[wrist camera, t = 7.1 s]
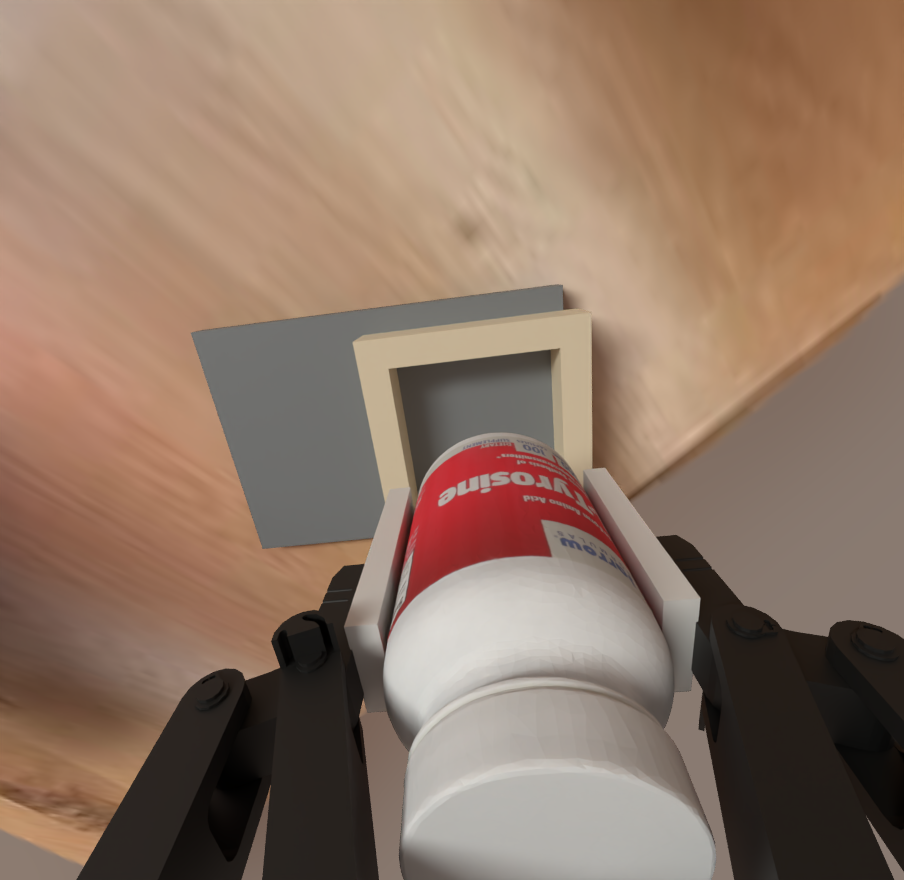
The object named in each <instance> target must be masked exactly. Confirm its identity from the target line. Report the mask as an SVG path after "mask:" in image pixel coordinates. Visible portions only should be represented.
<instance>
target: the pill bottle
mask: <svg viewBox="0 0 904 880" xmlns="http://www.w3.org/2000/svg"><path fill="white" fill-rule="evenodd" d="M383 691H384V699H385V704H386V709H387V713H388V716H389V718H390V721H391V723H392V725H393V728H394V730H395V731H396V733H397V735H398V737H399V739H400V740H401V742H402V743H403V745H404V746H405V747H406V749H407V750H408V751H409V756H408V765H407V769H406V773H405V780H404V797H403V809H402V824H401V836H400V847H399V861H400V868H401V872H402V876H403V879H404V880H711V879H712V876H713V873H714V870H715V864H716V851H715V841H714V838H713V835H712V831H711V829H710V826H709V824H708V821H707V819H706V816H705V814H704V811H703V809H702V806H701V804H700V801H699V799H698V796H697V794H696V792H695V789H694V787H693V784H692V781H691V779H690V776H689V774H688V771H687V769H686V766H685V763H684V761H683V759H682V756H681V754H680V751H679V750H678V748H677V746H676V745H675V743H674V741H673V740H672V739H671V738H670V736H669V735H668V734H667V733H666V732H665V731H664V728H665V726H666V724H667V721H668V718H669V715H670V712H671V708H672V703H673V697H674V668H673V663H672V659H671V655H670V651H669V647H668V645H667V642H666V640H665V637H664V635H663V633H662V631H661V629H660V627H659V625H658V623H657V621H656V619H655V616H654V614H653V612H652V610H651V609H650V607H649V605H648V603H647V602H646V600H645V598H644V596H643V595H642V593H641V591H640V589H639V587H638V586H637V584H636V582H635V580H634V579H633V577H632V575H631V573H630V571H629V569H628V567H627V566H626V564H625V562H624V561H623V559H622V557H621V555H620V553H619V552H618V550H617V548H616V546H615V545H614V543H613V541H612V539H611V537H610V536H609V534H608V532H607V530H606V528H605V527H604V525H603V523H602V521H601V519H600V518H599V516H598V514H597V512H596V510H595V509H594V507H593V505H592V503H591V501H590V500H589V498H588V496H587V494H586V492H585V491H584V489H583V487H582V485H581V484H580V482H579V480H578V478H577V477H576V475H575V473H574V472H573V470H572V469H571V467H570V466H569V464H568V463H567V462H566V461H565V460H564V458H563V457H562V456H560V455H559V454H558V453H557V452H556V451H555V450H553V449H552V448H551V447H549V446H548V445H546V444H544V443H542V442H540V441H538V440H536V439H534V438H531V437H527V436H523V435H519V434H514V433H502V432H501V433H487V434H482V435H477V436H474V437H471V438H468V439H465V440H463V441H461V442H459V443H457V444H455V445H454V446H452V447H451V448H449V449H448V450H447V451H445V452H444V453H443V454H442V455H441V456H440V457H439V458H438V459H437V460H436V461H435V462H434V463H433V464H432V466H431V467H430V469H429V470H428V472H427V473H426V475H425V477H424V479H423V482H422V484H421V487H420V490H419V494H418V498H417V502H416V506H415V510H414V515H413V520H412V525H411V529H410V535H409V539H408V544H407V549H406V554H405V559H404V563H403V568H402V573H401V578H400V582H399V587H398V593H397V598H396V603H395V608H394V612H393V618H392V623H391V626H390V632H389V635H388V641H387V647H386V654H385V661H384V668H383Z"/></svg>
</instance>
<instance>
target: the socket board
mask: <svg viewBox="0 0 904 880" xmlns="http://www.w3.org/2000/svg"><path fill="white" fill-rule="evenodd" d="M191 335H192V338H193V341H194V344H195V347H196V350H197V353H198V356H199V359H200V362H201V365H202V368H203V371H204V374H205V377H206V380H207V383H208V386H209V389H210V392H211V395H212V398H213V401H214V404H215V407H216V410H217V413H218V416H219V419H220V422H221V425H222V428H223V431H224V434H225V437H226V440H227V443H228V446H229V449H230V452H231V455H232V458H233V461H234V464H235V467H236V470H237V473H238V476H239V479H240V482H241V485H242V488H243V491H244V494H245V497H246V500H247V503H248V506H249V509H250V512H251V515H252V518H253V521H254V524H255V527H256V530H257V533H258V536H259V539H260V542H261V545H262V548H263V549H266V548H276V547H287V546H297V545H307V544H317V543H327V542H337V541H347V540H357V539H367V538H374V535H375V532H376V529H377V526H378V523H379V520H380V517H381V514H382V511H383V508H384V505H385V502H386V499H387V496H388V493H389V490H390V489H396V488H406V487H410V488H411V494H412V500H413V505H414V510H415V506H416V502H417V498H418V494H419V490H420V487H421V484H422V482H423V479H424V477H425V475H426V473H427V472H428V470H429V469H430V467H431V466H432V464H433V463H434V462H435V461H436V460H437V459H438V458H439V457H440V456H441V455H442V454H443V453H444V452H445V451H447V450H448V449H449V448H451V447H452V446H454V445H455V444H457V443H459V442H461V441H463V440H465V439H468V438H471V437H474V436H477V435H482V434H487V433H501V432H502V433H514V434H519V435H523V436H527V437H531V438H534V439H536V440H538V441H540V442H542V443H544V444H546V445H548V446H549V447H551V448H552V449H553V450H555V451H556V452H557V453H558V454H559V455H560V456H562V457H563V458H564V460H565V461H566V462H567V463H568V464H569V466H570V467H571V469H572V470H573V472H574V473H575V475H576V477H577V478H578V480H579V482H580V484H581V485H582V487H583V470H586V469H592V326H591V312H588V311H585V310H582V309H578V308H576V309H568V310H563V285H550V286H542V287H534V288H527V289H519V290H511V291H503V292H495V293H488V294H480V295H472V296H464V297H457V298H449V299H441V300H433V301H425V302H418V303H410V304H402V305H394V306H386V307H379V308H371V309H363V310H355V311H348V312H340V313H332V314H324V315H316V316H309V317H301V318H293V319H285V320H277V321H270V322H262V323H254V324H246V325H238V326H231V327H223V328H215V329H207V330H201V331H197V332H192V333H191Z"/></svg>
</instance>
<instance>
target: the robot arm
mask: <svg viewBox="0 0 904 880" xmlns="http://www.w3.org/2000/svg"><path fill="white" fill-rule="evenodd" d="M583 489H584V491H585V492H586V494H587V496H588V498H589V500H590V501H591V503H592V505H593V507H594V509H595V510H596V512H597V514H598V516H599V518H600V519H601V521H602V523H603V525H604V527H605V528H606V530H607V532H608V534H609V536H610V537H611V539H612V541H613V543H614V545H615V546H616V548H617V550H618V552H619V553H620V555H621V557H622V559H623V561H624V562H625V564H626V566H627V567H628V569H629V571H630V573H631V575H632V577H633V579H634V580H635V582H636V584H637V586H638V587H639V589H640V591H641V593H642V595H643V596H644V598H645V600H646V602H647V603H648V605H649V607H650V609H651V610H652V612H653V614H654V616H655V619H656V621H657V623H658V625H659V627H660V629H661V631H662V633H663V635H664V637H665V640H666V642H667V645H668V647H669V651H670V655H671V659H672V663H673V668H674V692H684V691H691V684H692V674H694V675H695V677H696V679H697V681H698V682H699V684H700V686H701V688H702V690H703V693H702V701H701V710H700V718H699V730H703V731H704V728H706V733H707V738H708V743H709V749H710V753H711V759H712V765H713V770H714V775H715V780H716V786H717V791H718V796H719V801H720V807H721V812H722V817H723V823H724V828H725V833H726V839H727V843H728V849H729V854H730V860H731V865H732V870H733V875H734V880H894V878H893V876H892V873H891V871H890V869H889V867H888V865H887V862H886V860H885V858H884V855H883V853H882V851H881V849H880V846H879V844H878V842H877V840H876V837H875V835H874V834H873V831H872V829H871V826H870V824H869V822H868V819H869V821H870V822H871V824H872V825H873V827H874V828H875V829H876V831H877V833H878V834H879V835H880V837H881V838H882V840H883V841H884V843H885V844H886V846H887V847H888V849H889V850H890V852H891V853H892V855H893V856H894V858H895V859H896V861H897V862H898V864H899V865H900V867H901V868H902V870H903V871H904V639H903V638H901V637H900V636H899V635H896V634H895V633H893V632H891V631H889V630H886V629H884V628H882V627H880V626H876V625H873V624H870V623H866V622H861V621H851V620H847V621H842V622H837V623H836V624H834V625H833V626H832V627H831V628H830V632H829V636H828V637H825V636H819V635H812V634H806V633H799V632H794V631H789V630H785V629H782V628H781V627H780V625H779V624H778V623H777V622H776V621H775V620H774V619H772V618H771V617H770V616H768V615H767V614H766V613H763V612H761V611H759V610H757V609H755V608H752V607H747V606H744V605H743V604H742V603H741V601H740V600H739V599H738V598H737V597H736V595H735V594H734V593H733V592H732V591H731V590H730V588H729V587H728V586H727V585H726V584H725V582H724V581H723V580H722V579H721V578H720V577H719V575H718V574H717V573H716V572H715V571H714V570H712V569H711V566H710V565H709V564H708V562H707V561H706V560H705V559H703V557H702V555H701V554H700V553H699V552H698V551H697V550H696V548H695V547H694V546H693V545H692V544H690V543H689V542H687V541H686V540H684V539H682V538H680V537H679V536H677V535H671V536H660V537H655V535H654V534H653V533H652V531H651V530H650V528H649V527H648V526H647V525H646V523H645V522H644V520H643V519H642V518H641V516H640V515H639V513H638V512H637V511H636V509H635V508H634V507H633V505H632V504H631V503H630V501H629V500H628V498H627V497H626V496H625V494H624V493H623V492H622V490H621V489H620V488H619V486H618V485H617V483H616V482H615V481H614V479H613V478H612V477H611V475H610V474H609V472H608V471H607V470H606V468H596V469H586V470H583ZM413 515H414V505H413V500H412V494H411V488H410V487H406V488H396V489H390V490H389V493H388V496H387V499H386V502H385V505H384V508H383V511H382V514H381V517H380V520H379V523H378V526H377V529H376V532H375V535H374V538H373V541H372V544H371V547H370V550H369V553H368V556H367V559H366V562H365V564H360V565H349V566H343V568H342V569H341V570H340V571H339V572H338V573H337V574H336V575H335V576H334V577H333V578H332V581H331V583H330V585H329V588H328V590H327V593H326V595H325V597H324V599H323V604H321V607H320V609H319V611H317V610H312V611H306V612H302V613H299V614H297V615H295V616H292V617H291V618H289V619H288V620H286V621H285V622H284V623H282V624H281V625H280V627H279V628H278V629H277V630H276V631H275V633H274V635H273V638H272V641H271V642H272V645H273V648H274V651H275V653H276V656H277V659H278V662H279V665H280V668H279V669H276V670H274V671H272V672H269V673H266V674H263V675H260V676H258V677H255V678H252V679H249V680H246V681H245V679H244V676H243V674H242V673H241V672H240V671H238V670H236V669H222V670H219V671H215V672H213V673H211V674H209V675H207V676H205V677H203V678H202V679H200V680H199V681H198V682H197V683H195V684H194V685H193V686H192V687H191V688H190V689H189V690H188V691H187V693H186V694H185V695H184V696H183V698H182V699H181V701H180V703H179V704H178V706H177V708H176V709H175V711H174V713H173V715H172V716H171V718H170V720H169V722H168V723H167V725H166V727H165V728H164V730H163V732H162V734H161V735H160V737H159V739H158V740H157V742H156V744H155V746H154V747H153V749H152V751H151V752H150V754H149V756H148V758H147V759H146V761H145V763H144V764H143V766H142V768H141V770H140V771H139V773H138V775H137V776H136V778H135V780H134V782H133V783H132V785H131V787H130V789H129V790H128V792H127V794H126V795H125V797H124V799H123V801H122V802H121V804H120V806H119V807H118V809H117V811H116V813H115V814H114V816H113V818H112V819H111V821H110V823H109V825H108V826H107V828H106V830H105V831H104V833H103V835H102V837H101V838H100V840H99V842H98V843H97V845H96V847H95V849H94V850H93V852H92V854H91V855H90V857H89V859H88V861H87V862H86V864H85V866H84V868H83V869H82V871H81V873H80V875H79V876H78V878H77V880H241V879H242V876H243V873H244V869H245V866H246V863H247V860H248V856H249V853H250V850H251V847H252V843H253V840H254V837H255V833H256V830H257V827H258V824H259V821H260V817H261V814H262V811H263V808H264V804H265V801H266V798H267V795H268V791H269V788H270V785H271V788H270V799H269V810H268V811H269V812H268V821H267V822H268V823H267V834H266V844H265V856H264V866H263V877H262V880H379V876H378V866H377V858H376V848H375V839H374V830H373V821H372V813H371V812H372V811H371V803H370V794H369V785H368V775H367V766H366V756H365V748H364V738H363V730H362V725H361V722H360V718H359V714H360V709H361V705H362V701H363V699H364V702H365V706H366V710H367V713H371V712H386V711H387V709H386V704H385V699H384V691H383V668H384V661H385V654H386V647H387V641H388V635H389V632H390V626H391V623H392V618H393V612H394V608H395V603H396V598H397V593H398V587H399V582H400V578H401V573H402V568H403V563H404V559H405V554H406V549H407V544H408V539H409V535H410V529H411V525H412V520H413ZM866 816H867V817H866ZM867 818H868V819H867Z"/></svg>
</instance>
